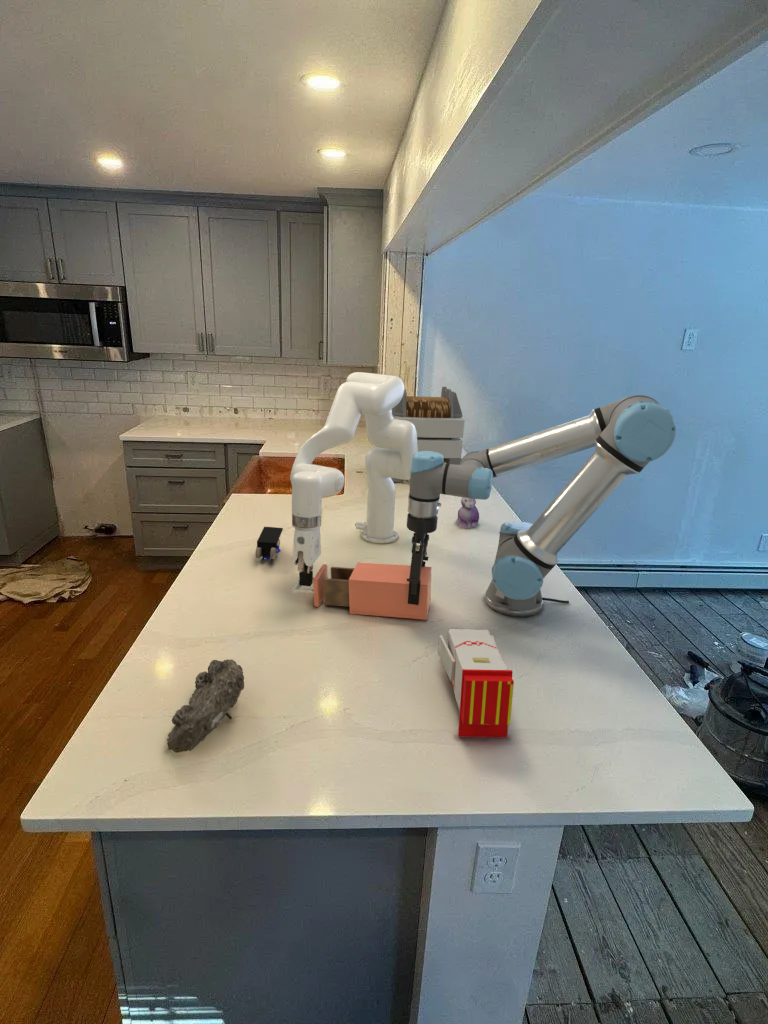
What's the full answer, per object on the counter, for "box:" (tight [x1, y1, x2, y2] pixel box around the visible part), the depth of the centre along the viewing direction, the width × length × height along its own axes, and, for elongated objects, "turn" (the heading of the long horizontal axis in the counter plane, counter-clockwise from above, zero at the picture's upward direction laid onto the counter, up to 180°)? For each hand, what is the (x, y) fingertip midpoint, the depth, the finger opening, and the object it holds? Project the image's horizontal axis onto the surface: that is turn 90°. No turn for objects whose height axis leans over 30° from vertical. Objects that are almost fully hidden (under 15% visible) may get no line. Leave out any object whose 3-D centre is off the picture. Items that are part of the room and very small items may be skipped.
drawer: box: [291, 563, 355, 608], centre depth 151 cm, size 25×10×8 cm, turn 80°
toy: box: [437, 628, 515, 738], centre depth 117 cm, size 12×13×30 cm
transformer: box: [391, 386, 465, 483], centre depth 268 cm, size 34×33×41 cm
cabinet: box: [348, 561, 432, 621], centre depth 148 cm, size 20×11×10 cm, turn 80°
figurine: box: [456, 497, 480, 529], centre depth 209 cm, size 9×10×15 cm
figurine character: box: [254, 526, 284, 564], centre depth 176 cm, size 7×8×15 cm
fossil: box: [166, 658, 245, 754], centre depth 106 cm, size 22×10×15 cm
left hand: (305, 584), depth 151 cm, fingers closed
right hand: (415, 593), depth 148 cm, fingers closed on cabinet, 11 cm apart
